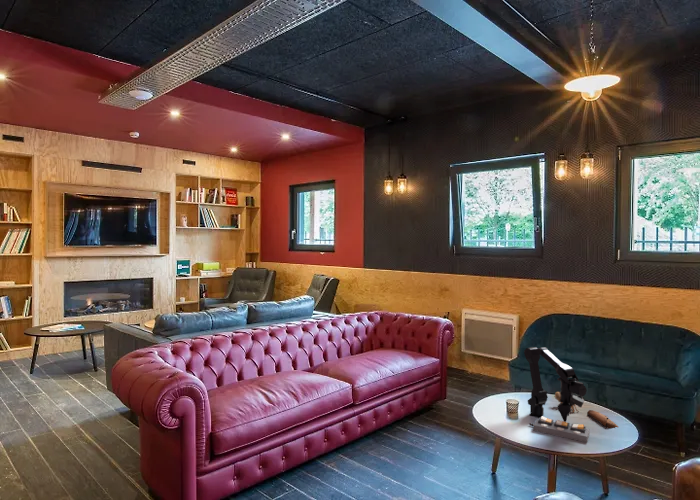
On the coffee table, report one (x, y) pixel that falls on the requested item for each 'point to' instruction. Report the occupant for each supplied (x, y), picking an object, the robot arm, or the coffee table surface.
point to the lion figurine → (558, 397)
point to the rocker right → (578, 426)
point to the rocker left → (545, 419)
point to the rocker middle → (561, 423)
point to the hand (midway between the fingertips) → (566, 418)
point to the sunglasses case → (601, 419)
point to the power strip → (561, 430)
